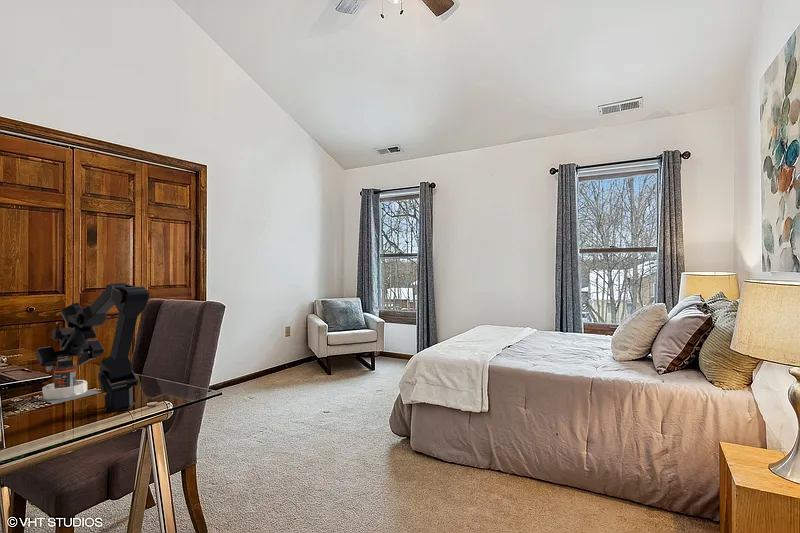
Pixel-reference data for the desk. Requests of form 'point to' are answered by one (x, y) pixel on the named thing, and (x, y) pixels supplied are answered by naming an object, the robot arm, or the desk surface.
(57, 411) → the desk surface
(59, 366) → the supplement bottle
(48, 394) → the bowl
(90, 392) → the mat
